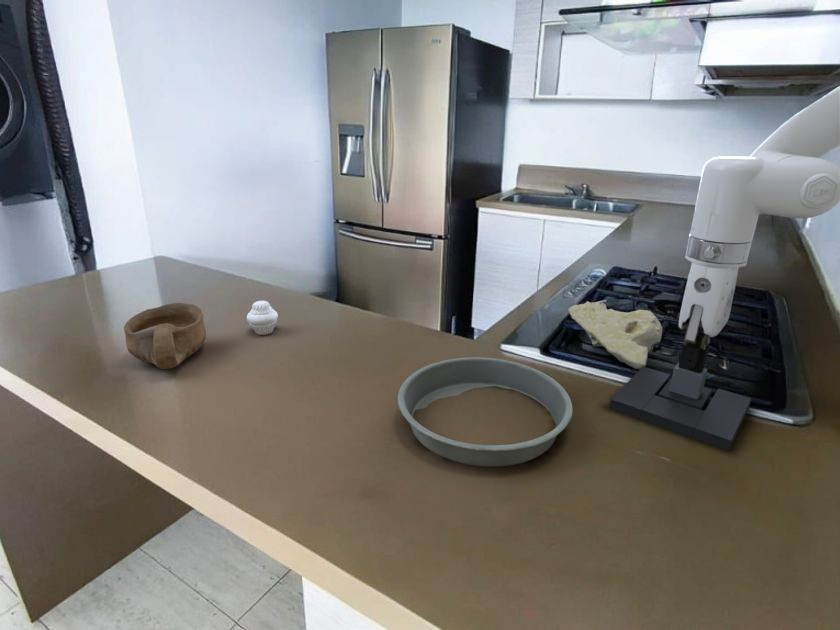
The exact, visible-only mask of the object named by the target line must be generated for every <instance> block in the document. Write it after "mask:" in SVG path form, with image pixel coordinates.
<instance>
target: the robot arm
mask: <svg viewBox="0 0 840 630" xmlns="http://www.w3.org/2000/svg"><path fill="white" fill-rule="evenodd" d="M839 146H840V85H839V86H837V87H836V88H834V89H832V90H831V91H830V92H828V93H826V94H825V95H823V96H822V97H821V98H819V99H817V100H815V101H814V102H813V103H811V104H809V105H808V106H806V107H805V108H803V109H801V110H800V111H799V112H797V113H795V114H794V115H793V116H791V117H790V118H789V119H787V120H786V121H785V122H783V123H782V124H781V125H779V127H778V128H777V129H775V131H773V132H772V133H771V134H770V135H769V136H768V137H767V138H766V139H765V140H764V141H763V142H762V143H761V144H760V145H759V146H758V147H757V148H755V150H753V152H752V153H751V154H750V155H749V156H734V155H733V156H732V155H731V156H730V155H729V156H728V155H727V156H716V157H712V158H710V159H708V160H707V161H706V162H705V163H704V165H703V168H702V172H701V177H700V181H699V187H698V191H697V197H696V201H695V206H694V212H693V217H692V220H691V221H692V222H691V226H690V227H691V228H690V231H689V236H688V240H687V245H686V251H685V255H684V258H685V260H686V261H688V262H690V263H691V264H690V269H689V273H688V275H687V281H686V285H685V289H684V293H683V297H682V302H681V307H680V312H679V318H678V328H679V329H680V330H681V331H684V330H685V334H684V338H683V339H684V340H683V343H682V347H681V352H680V357H679V361H678V363H679V367H680V368H682V369H686V370H689V371H693V372H697V373H701V372H702V370H703V369H704V368H706V367H705V366H706V363H707V358H708V354H709V349H710V345H709V344H710V342H711V338H714V337H716V336H718V335H719V333H720V332H721V331H722V330H723V328H724V327H725V326H726V325H727V323H728V321H729V319H730V315H731V310H732V306H733V305H732V304H733V301H734V297H735V295H734V294H735V290H736V285H737V280H738V273H739V268H744V267H745V266H747V264H748V261H749V257H750V252H751V248H752V244H753V240H754V236H755V232H756V228H757V224H758V220H759V217H760V215H770V216H776V217H784V218H791V219H810V218H815V217H818V216H821V215H823V214H825V213H828V212H829V211H831V210H832V209H833V208H835V207H836V206H837V205H839V203H840V167H839V166H838V165H836V164H835V163H833V162H832V161H830V160H828V159H825V158H822V157H823V156H825V155H826V154H828V153H829V152H831V151H833V150H834V149H836V148H838V147H839Z"/></svg>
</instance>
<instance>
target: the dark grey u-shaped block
mask: <svg viewBox="0 0 840 630" xmlns="http://www.w3.org/2000/svg"><path fill="white" fill-rule="evenodd" d="M671 377H672V376H671V374H670V373H667V372H663V371H659V370H657V369H653V368H650V367H646V366H645V367H642V368H641V369H639V370H638V371H637V372H636V373H635V374H634V375H633V376H632V377H631V378H630V379H629V380H628V381H627V382H626V383H625V384H624V386H622V387H621V389H619V390H618V391H617V393H616V394H615V395H614V396H613V397H612V398H611V399H610V403H609V404H610V405H609V409H610V410H613V411H615V412H618V413H621V414H623V415H626V416H629V417H632V418H635V419H637V420H641V421H643V422H646V423H649V424H651V425H655V426H658V427H660V428H663V429H666V430H668V431H671V432H674V433H677V434H680V435H682V436H685V437H688V438H691V439H694V440H697V441H699V442H702V443H705V444H708V445H710V446H713V447H716V448H719V449H722V450H725V451H727V452H729V451H730V450H731V447H732V445H733V443H734V441H735V439H736V437H737V434H738V432H739V430H740V428H741V426H742V424H743V421H744V420H745V417H746V415H747V413H748V411H749V409H750V406H751V402H752V398H751V397H749V396H746V395H742V394H738V393H735V392H732V391H729V390H724V389H721V388H718V389H717V390H716V391H715V393H714V394H713V397H711V399H710V401H709V402H708V404H707V406H706V407H705V409H704V410H703V411H702V410H699V409H696V408H693V407H690V406H687V405H684V404H681V403H677V402H674V401H671V400H668V399H665V398H662V397H659V396H658V394H659V393H660V392H661V390H662V389H663V388H664V387H665V386H666V384H667V383H668V382H669V381H670V379H671Z"/></svg>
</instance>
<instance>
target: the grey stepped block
mask: <svg viewBox="0 0 840 630" xmlns="http://www.w3.org/2000/svg"><path fill="white" fill-rule="evenodd" d="M708 370H709V369H708V368H706V367H704V369H703V370H702V372H701V373H697V372H693V371H689V370H686V369H682V368H680V367H679V362H677V364H676V365H675V366H674V367H673V371H672V376H671V377H670V381H669V382H668V383H667V384H666V386H665V387H664V388H663V389H662V390H661V392H660V393H659V394H658V396H659V397H662V398H665V399H668V400H671V401H674V402H677V403H681V404H684V405H687V406H690V407H693V408H696V409H699V410H702V411H705V409H706V408H707V406H708V404H709V403H710V401H711V400H712V395H713V389H712V388H709V387H706V386H705V383H706V382H705V381H706V378H707V374H708Z"/></svg>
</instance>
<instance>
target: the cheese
mask: <svg viewBox="0 0 840 630" xmlns="http://www.w3.org/2000/svg"><path fill="white" fill-rule="evenodd" d="M603 302H604V303H603ZM605 302H607V299H603V300H599V301H594V302H590V301H586V302H585V303H580V304H573V305H572V306H570V307H568V310H567V311H568V313H569V315H570V317H571V319H572V320H573V321H575V322H576V323H577V325H579V326H581V328H582V329H584V331H585V333H586V334H587V335H588V336H589V339H590V341H591V343H592V346H593V347H595V348H596V347H597V348H599V347H601V348H604V349H606V352H608V353H610V354H611V355H612V356H613V357H615V358H616V359H617V360H618V361H619V362H620V363H624V364H626V365H627V366H629V367H631V368H632V369H634V370H638V371H639V370H640V369H641V368H642V367H646V366H647V362H648V356H649V355H648V353H650V352H651V351H652V350H651V346H652V344H654V343H656V342H659V343H660V342H661V339H662V336H663V325H662V324H661V322H660V321H659V319H658V318H657V316H655V314H654V313H653V312H652V311H651V310H647V309H638V310H633V311H630V312H629V311H628V312H624V311H619V310H614V309H613V308H609V309H607V305H606V304H605Z"/></svg>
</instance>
